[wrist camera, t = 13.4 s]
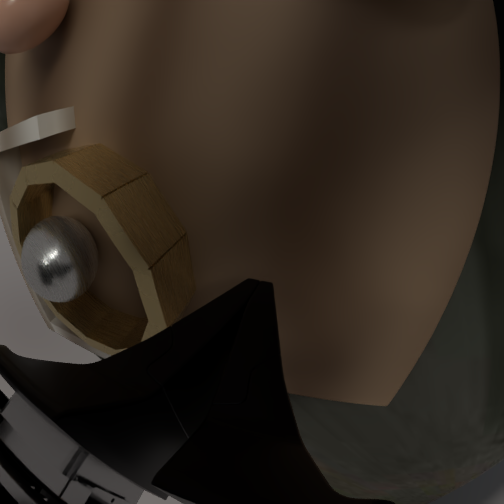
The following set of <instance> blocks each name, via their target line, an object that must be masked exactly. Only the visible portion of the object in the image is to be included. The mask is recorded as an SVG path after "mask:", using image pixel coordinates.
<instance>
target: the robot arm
mask: <svg viewBox="0 0 504 504" xmlns="http://www.w3.org/2000/svg"><path fill="white" fill-rule="evenodd" d="M0 374H1V375H2V377H3V378H4V379H5V380H6V381H7V383H8V384H9V385H10V386H11V387H12V388H13V389H14V390H15V393H14V394H13V395H12V397H11V398H10V399H8V398H7V396H6V395H5V394H4V393H3V392H2V391H1V390H0V504H137V502H138V500H139V498H140V497H141V495H142V493H143V491H144V490H145V491H148V492H150V493H152V494H154V495H156V496H158V497H160V498H162V499H164V500H166V499H167V497H168V496H171V497H173V498H174V499H176V500H178V501H180V502H181V503H183V504H395V503H394V502H392V501H388V500H379V499H355V498H349V497H346V496H343V495H341V494H339V493H337V492H336V491H334V489H333V488H332V487H331V486H330V485H329V483H328V482H327V480H326V479H325V477H324V476H323V474H322V473H321V471H320V470H319V468H318V466H317V465H316V463H315V462H314V460H313V459H312V457H311V455H310V454H309V452H308V451H307V449H306V447H305V445H304V443H303V441H302V439H301V436H300V433H299V430H298V427H297V423H296V420H295V416H294V413H293V409H292V406H291V402H290V399H289V396H288V392H287V388H286V383H285V379H284V373H283V366H282V357H281V349H280V339H279V330H278V321H277V312H276V303H275V295H274V286H273V283H272V282H268V281H260V280H257V279H252V278H248V279H246V280H244V281H243V282H241V283H239V284H238V285H236V286H234V287H233V288H231V289H230V290H228V291H226V292H225V293H223V294H222V295H220V296H218V297H217V298H215V299H213V300H212V301H210V302H209V303H207V304H205V305H204V306H202V307H200V308H199V309H197V310H195V311H194V312H192V313H191V314H189V315H187V316H186V317H184V318H182V319H181V320H179V321H177V322H176V323H174V324H172V327H171V326H169V327H167V328H166V329H164V330H162V331H161V332H159V333H157V334H155V335H153V336H152V337H150V338H148V339H146V340H144V341H142V342H140V343H138V344H136V345H134V346H132V347H130V348H127V349H125V350H123V351H121V352H119V353H116V354H114V355H112V356H110V357H108V358H105V359H103V360H101V361H98V362H95V363H90V364H72V363H62V362H53V361H44V360H37V359H31V358H26V357H22V356H19V355H17V354H15V353H13V352H12V351H11V350H9V348H7V347H6V346H4V345H0Z"/></svg>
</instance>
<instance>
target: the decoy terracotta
mask: <svg viewBox="0 0 504 504" xmlns="http://www.w3.org/2000/svg"><path fill="white" fill-rule="evenodd" d="M69 1H70V0H0V52H1V53H5V54H17V53H22V52H25V51H28V50H30V49H33V48H35V47H36V46H38V45H40V44H41V43H42V42H44V41H45V40H46V39H48V38H49V37H50V36H51V35H52V34H53V33H54V32H55V31H56V29H57V28H58V27H59V25H60V24H61V22H62V21H63V19H64V17H65V15H66V12H67V10H68V6H69Z"/></svg>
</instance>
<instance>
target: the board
mask: <svg viewBox="0 0 504 504" xmlns="http://www.w3.org/2000/svg"><path fill="white" fill-rule="evenodd" d="M5 92H6V110H7V121H8V128H7V129H5V130H3V131H1V132H0V215H1V219H2V222H3V225H4V228H5V231H6V234H7V237H8V240H9V243H10V246H11V248H12V251H13V254H14V256H15V259H16V261H17V264H18V266H19V269H20V271H21V273H22V276H23V278H24V280H25V282H26V285H27V287H28V289H29V291H30V293H31V295H32V298H33V300H34V302H35V304H36V306H37V307H38V309H39V311H40V313H41V315H42V317H43V319H44V321H45V323H46V324H47V326H48V328H49V329H51V330H53V331H54V332H56V333H58V334H59V335H61V336H63V337H65V338H66V339H68V340H70V341H72V342H74V343H75V344H77V345H79V346H81V347H83V348H85V349H87V350H89V351H90V352H92V353H94V354H96V355H98V356H100V357H102V358H104V359H105V358H108V357H110V356H111V355H109V354H106V353H104V352H102V351H100V350H98V349H96V348H94V347H91V346H90V345H88V344H87V343H86V342H84V341H83V340H82V339H81V338H80V337H78V336H77V335H76V334H75V333H74V332H73V331H71V330H70V329H69V328H68V327H67V326H66V325H65V324H64V323H62V322H61V321H60V320H59V319H58V318H57V316H55V315H54V313H53V312H52V311H51V309H50V308H49V307H48V305H47V304H46V302H45V301H44V300H43V298H42V297H41V296H39V295H38V294H37V293H36V292H34V291H33V289H32V288H31V287H30V286H29V284H28V283H27V281H26V279H25V276H24V274H23V270H22V264H21V258H20V255H19V253H18V250H17V248H16V245H15V242H14V238H13V234H12V225H11V214H10V195H11V192H12V190H13V187H14V185H15V182H16V180H17V177H18V175H19V173H20V170H21V168H22V167H24V166H26V165H28V164H30V163H33V162H35V161H37V160H40V159H42V158H44V157H47V156H49V155H52V154H54V153H57V152H60V151H62V150H65V149H70V148H75V147H80V146H86V145H91V144H97V143H100V144H101V143H102V144H103V145H105V146H107V147H108V148H110V149H112V150H113V151H115V152H116V153H118V154H120V155H121V156H123V157H125V158H126V159H128V160H129V161H131V162H133V163H134V164H136V165H138V166H139V167H141V168H142V169H144V170H146V171H147V172H148V173H147V174H150V175H151V177H152V178H153V180H154V182H155V183H156V185H157V186H158V188H159V190H160V191H161V193H162V194H163V196H164V197H165V199H166V201H167V202H168V204H169V205H170V207H171V208H172V210H173V211H174V213H175V215H176V216H177V218H178V219H179V221H180V222H181V224H182V225H183V227H184V228H185V230H186V231H187V232H186V233H187V234H188V241H189V247H190V254H191V260H192V266H193V272H194V278H195V284H196V292H195V293H194V295H193V297H192V299H191V301H190V303H189V305H188V306H187V308H186V310H185V312H184V314H183V316H182V318H184V317H186V316H187V315H189V314H191V313H192V312H194V311H195V310H197V309H199V308H200V307H202V306H204V305H205V304H207V303H209V302H210V301H212V300H213V299H215V298H217V297H218V296H220V295H222V294H223V293H225V292H226V291H228V290H230V289H231V288H233V287H234V286H236V285H238V284H239V283H241V282H243V281H244V280H246V279H248V278H252V279H257V280H260V281H268V282H272V283H273V286H274V295H275V303H276V312H277V321H278V330H279V339H280V349H281V357H282V366H283V373H284V379H285V383H286V388H287V392H288V393H291V394H297V395H302V396H308V397H314V398H320V399H326V400H333V401H341V402H349V403H357V404H367V405H378V406H387V405H388V404H389V403H390V401H391V400H392V399H393V397H394V396H395V394H396V393H397V391H398V390H399V388H400V387H401V385H402V384H403V382H404V381H405V379H406V378H407V376H408V375H409V373H410V372H411V370H412V368H413V367H414V365H415V364H416V362H417V360H418V359H419V357H420V355H421V354H422V352H423V350H424V348H425V347H426V345H427V343H428V341H429V339H430V338H431V336H432V334H433V332H434V330H435V328H436V326H437V324H438V322H439V320H440V318H441V316H442V314H443V312H444V310H445V308H446V306H447V304H448V302H449V300H450V297H451V295H452V293H453V291H454V288H455V286H456V284H457V281H458V279H459V276H460V274H461V271H462V269H463V266H464V264H465V261H466V258H467V256H468V253H469V250H470V247H471V244H472V241H473V238H474V235H475V232H476V229H477V226H478V222H479V219H480V215H481V212H482V208H483V204H484V200H485V196H486V192H487V188H488V183H489V179H490V174H491V169H492V163H493V157H494V151H495V144H496V137H497V128H498V117H499V103H500V55H499V41H498V31H497V22H496V15H495V9H494V4H493V0H70V1H69V6H68V10H67V12H66V15H65V17H64V19H63V21H62V22H61V24H60V25H59V27H58V28H57V29H56V31H55V32H54V33H53V34H52V35H51V36H50V37H49V38H48V39H46V40H45V41H44V42H42V43H41V44H40V45H38V46H36V47H35V48H33V49H30V50H28V51H25V52H22V53H17V54H6V58H5ZM52 216H68V217H71V218H73V219H76V220H78V221H79V222H80V223H82V224H83V225H84V226H85V227H86V228H87V229H88V230H89V231H90V233H91V234H92V236H93V238H94V240H95V243H96V246H97V250H98V268H97V273H96V276H95V278H94V280H93V282H92V284H91V286H90V287H89V288H88V290H89V291H90V292H91V293H93V294H94V295H95V296H96V297H98V298H99V299H100V300H101V301H103V302H104V303H105V304H106V305H108V306H109V307H110V308H112V309H114V310H117V311H120V312H123V313H126V314H129V315H133V316H136V317H139V318H144V317H147V315H146V312H145V309H144V306H143V303H142V300H141V297H140V293H139V290H138V287H137V284H136V280H135V277H134V274H133V270H132V269H131V268H130V266H129V265H128V263H127V262H126V261H125V259H124V258H123V256H122V255H121V253H120V252H119V250H118V249H117V248H116V246H115V245H114V243H113V242H112V240H111V239H110V237H109V236H108V234H107V233H106V231H105V230H104V228H103V226H102V225H101V223H100V222H99V220H98V219H97V217H96V215H95V214H94V213H93V212H91V211H90V210H89V209H88V208H86V207H85V206H84V205H82V204H81V203H80V202H78V201H77V200H76V199H75V198H73V197H72V196H71V195H70V194H68V193H67V192H66V191H64V190H63V189H62V188H61V187H59V186H58V185H57V184H56V186H55V187H54V189H53V203H52ZM182 318H181V319H182Z"/></svg>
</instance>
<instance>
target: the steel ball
mask: <svg viewBox="0 0 504 504" xmlns="http://www.w3.org/2000/svg"><path fill="white" fill-rule="evenodd" d="M21 264H22V270H23V274H24V276H25V279H26V281H27V283H28V284H29V286H30V287H31V288H32V289H33V291H34V292H36V293H37V294H38V295H39V296H41V297H42V298H44V299H46V300H49V301H52V302H68V301H71V300H74V299H76V298H78V297H79V296H81V295H82V294H83V293H84V292H86V291H87V289H88V288H89V287H90V286H91V284H92V282H93V280H94V278H95V276H96V273H97V268H98V250H97V246H96V243H95V240H94V238H93V236H92V234H91V233H90V231H89V230H88V229H87V228H86V227H85V226H84V225H83V224H82V223H80V222H79V221H78V220H76V219H73V218H71V217H68V216H52V217H48V218H45V219H43V220H42V221H40V222H39V223H37V224H36V225H35V226H34V227H33V228H32V229H31V230H30V232H29V233H28V235H27V237H26V239H25V241H24V244H23V247H22V253H21Z"/></svg>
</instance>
